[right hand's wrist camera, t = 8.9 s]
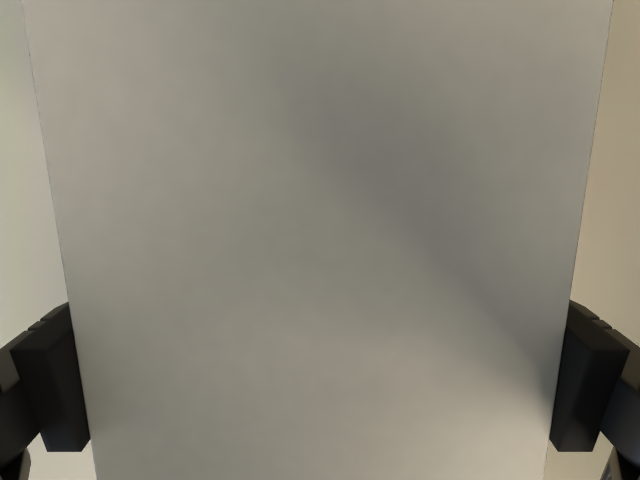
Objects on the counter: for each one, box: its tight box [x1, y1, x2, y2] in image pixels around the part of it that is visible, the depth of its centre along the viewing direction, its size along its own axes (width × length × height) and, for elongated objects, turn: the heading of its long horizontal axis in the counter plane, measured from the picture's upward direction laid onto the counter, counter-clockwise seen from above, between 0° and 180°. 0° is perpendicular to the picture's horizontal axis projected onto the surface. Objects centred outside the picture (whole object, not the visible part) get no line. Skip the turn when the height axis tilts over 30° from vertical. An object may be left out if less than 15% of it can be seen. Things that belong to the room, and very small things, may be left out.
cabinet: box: [21, 0, 613, 480], centre depth 11 cm, size 17×10×9 cm, turn 0°
